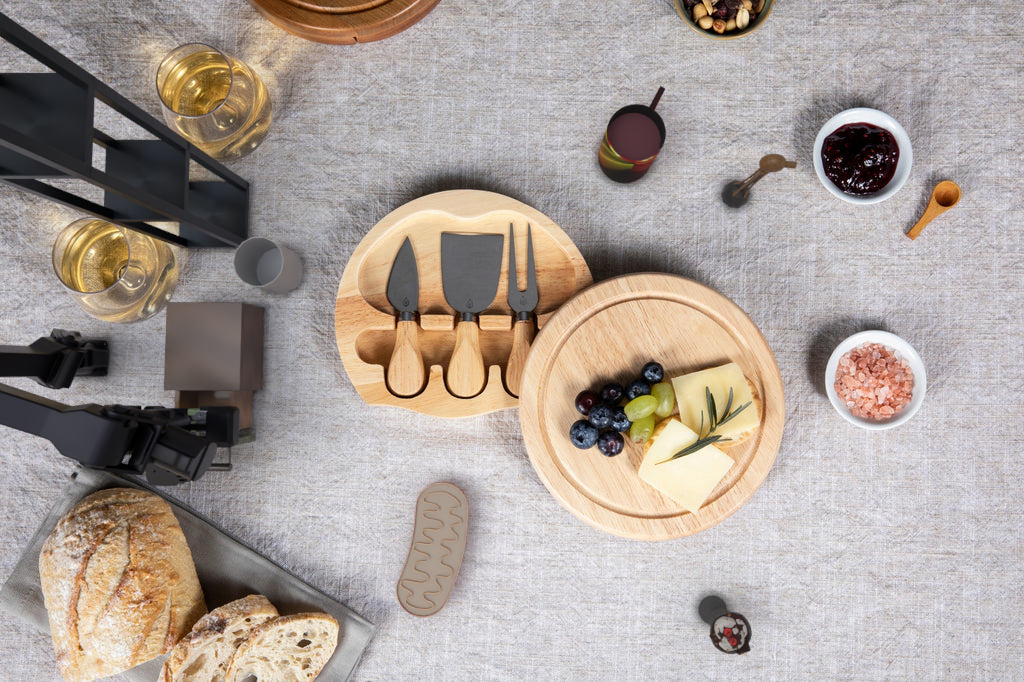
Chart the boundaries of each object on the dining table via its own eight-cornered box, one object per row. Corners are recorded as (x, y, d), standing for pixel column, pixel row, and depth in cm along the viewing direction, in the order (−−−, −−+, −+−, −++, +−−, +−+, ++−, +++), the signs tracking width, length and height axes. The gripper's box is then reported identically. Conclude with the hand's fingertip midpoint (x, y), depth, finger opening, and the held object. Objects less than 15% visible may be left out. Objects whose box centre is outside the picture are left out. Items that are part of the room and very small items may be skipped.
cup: (297, 298, 119) (276, 291, 109) (253, 289, 119) (228, 281, 110) (307, 252, 120) (287, 241, 110) (263, 243, 120) (239, 231, 110)
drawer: (255, 467, 117) (236, 474, 109) (191, 466, 117) (167, 473, 110) (257, 364, 118) (239, 363, 110) (194, 363, 118) (171, 363, 110)
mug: (654, 109, 120) (668, 80, 108) (650, 184, 119) (664, 164, 107) (600, 106, 120) (609, 77, 108) (596, 182, 119) (605, 161, 107)
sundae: (691, 592, 116) (716, 625, 101) (729, 589, 116) (760, 621, 101) (694, 630, 115) (720, 669, 100) (733, 627, 115) (764, 665, 100)
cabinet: (262, 389, 119) (239, 390, 109) (192, 388, 119) (163, 390, 109) (264, 307, 119) (242, 302, 110) (195, 307, 120) (166, 301, 110)
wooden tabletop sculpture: (755, 184, 119) (802, 146, 99) (752, 209, 119) (799, 176, 99) (722, 180, 119) (762, 142, 99) (719, 206, 119) (760, 172, 99)
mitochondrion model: (425, 472, 117) (421, 477, 112) (480, 485, 117) (478, 490, 112) (395, 600, 117) (390, 610, 112) (450, 613, 116) (447, 624, 111)
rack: (181, 248, 120) (-234, 98, 54) (183, 182, 121) (-225, -45, 55) (247, 248, 120) (-89, 98, 54) (249, 183, 120) (-82, -46, 54)
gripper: (81, 487, 94) (144, 470, 109) (212, 488, 93) (257, 471, 109) (84, 408, 94) (146, 402, 110) (215, 409, 94) (258, 403, 109)
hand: (201, 422), depth 109 cm, fingers closed on block, 4 cm apart
